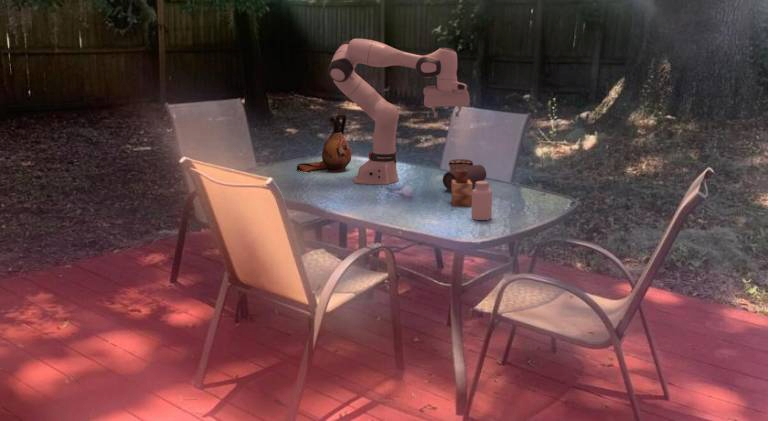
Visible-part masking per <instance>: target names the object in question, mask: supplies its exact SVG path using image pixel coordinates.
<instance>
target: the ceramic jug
mask: <svg viewBox="0 0 768 421" xmlns="http://www.w3.org/2000/svg"><path fill="white" fill-rule="evenodd" d="M341 119H342V120H341ZM326 122H327V125H329V126H331V127H333V131H332V133H331V134H330V135H329V137H328V138H327V140H326V141H325V143H324V145H323V148H322V153H321V159H322V161H323V162H324V164H325V165H326V167H327V168H328V170H327V172H333V173H341V172H344V171H345V170H346V168H347V167H348V165H349V164H350V163H351V160H352V150H351V147H350V144H349V143H348V141H347V139H346V137H345V136H344V132H345V127H346V122H347V116H346V114H344V113H338V114H336V117H329V118H328V119H327V121H326Z"/></svg>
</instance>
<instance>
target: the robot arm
mask: <svg viewBox="0 0 768 421" xmlns="http://www.w3.org/2000/svg"><path fill="white" fill-rule="evenodd" d="M358 64H363V65H366V66H369V67H374V68H375V67H376V68H387V67H392V66H401V67H406V68H411V69H415V71H416V73H417V74H418V75H419V76H420V77H422V78H424V79H429V78H432V77H436V84H435V85H426V86H425V87H424V88H423V91H422V92H423V96H424V100H423V105H424V106H425V107H426V108H431V109H432V111H433V116H434V118H437V117H439V116H438V115H439V112H436V107H437V108H438V107H440V108H441V107H442V108H443V107H446V108H447V107H450V108H451V107H454V108H455V107H457V111H456V112H455V113H454V114H455V116H454V117H456V118H459V116H460V112H461V110H462V107H469V106H470V102H471V101H470V93H469V91H468V90H467V89H468V85H467V84H465V83H464V82H460V81H458V76H457V71H458V55H457V52H456V51H455V50H454V49H452V48H449V47H439V49H437V50H435V51H434V52H433V51H432V52H431V53H427V54H424V55H423V54H422V55H421V54H416V53H411V52H406V51H403V50H399V49H397V48H394V47H393V46H389V45H388V44H386V43H383V42H380V41H376V40H372V39H366V38H353V39H351V40H345V41H343V42H341V44H340V45H339V46H338V48H337V49H336V51H335V53H334V54H333V57H332V59H331V62H330V63H329V66H328V68H327V69H328V76H329V77H330V78H331V79H332V80H333V83H334V84H335V85H336V86H337V88H338V89H339V91H341V92H342V93H343V94H344V95H345V96H346V97H347V98H348V99H349V100H351V101H352V102H353V103H354V104H355V105H356V106H358V108H360V109H361V110H362V111H363V112H364V113H365V114H366V115H367V116H369V117H370V118H371V119H372V120H373V121H374V123H375V124H374V130H373V132H374V133H373V135H372V151H369V152H368V153H367V155H368V160H367V161H366V162H365V163H363V164H362V165H361V166H360V167H359V168H358V172H357V175H356V176H354V177H353V182H354V184H363V185H388V184H392V183H396V182H399V180H400V178H399V176H398V170H397V163H398V162H397V160H398V159H397V156H398V155H397V152H396V139H397V138H396V136H397V135H396V134H397V129H398V122H399V119H400V113H399V110H398V108H397V106H395V104H393V103H390V102H389V101H387V100H386V99H385V98H384V97H382V95H380V94H379V93H378V91H377V90H376V89H375V88H374V87H372V86H371V85H370V84H369V83H368V82H367V81H365V79H363V78H362V77H361V76H359V75H358V74H357V73H356V71H355V69H356V67H357V65H358Z"/></svg>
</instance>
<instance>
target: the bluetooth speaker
mask: <svg viewBox="0 0 768 421" xmlns="http://www.w3.org/2000/svg"><path fill="white" fill-rule="evenodd" d="M459 169H466V170H467V171H468V180H470V181H471V182H472V184H473V186H472V188H473V187H474V185H475V183H476V182H477V181H486V180H485V179H486V178H487V170H486V168H485V166H483V165H481V164H473V165H472V166H467V167H463V168H459ZM455 177H456V169H455V170H452V171H450V170H449V171H447V172H445V173H444V174H443V177H442V185H443V187H444V188H445V189H447V190H450V191H451V182H452V180H455Z"/></svg>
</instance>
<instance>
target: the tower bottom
mask: <svg viewBox="0 0 768 421" xmlns="http://www.w3.org/2000/svg"><path fill="white" fill-rule="evenodd" d="M451 205H452V207H453V206H458V207H465V208H466V207H471V208H472V195H462V196H453V193H452V192H451Z"/></svg>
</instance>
